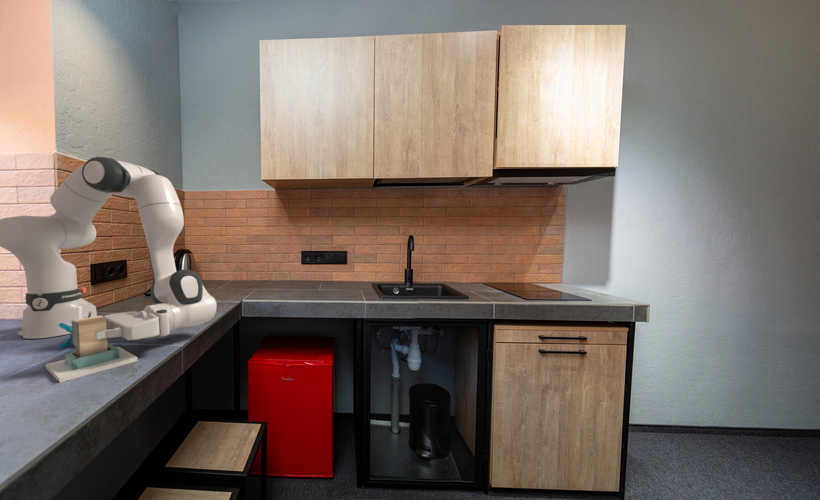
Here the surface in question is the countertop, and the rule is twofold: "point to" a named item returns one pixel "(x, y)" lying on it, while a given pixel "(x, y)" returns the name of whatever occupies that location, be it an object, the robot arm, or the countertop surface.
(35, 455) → the countertop surface
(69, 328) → the blue crossed bar frame
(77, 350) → the block
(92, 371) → the socket base
